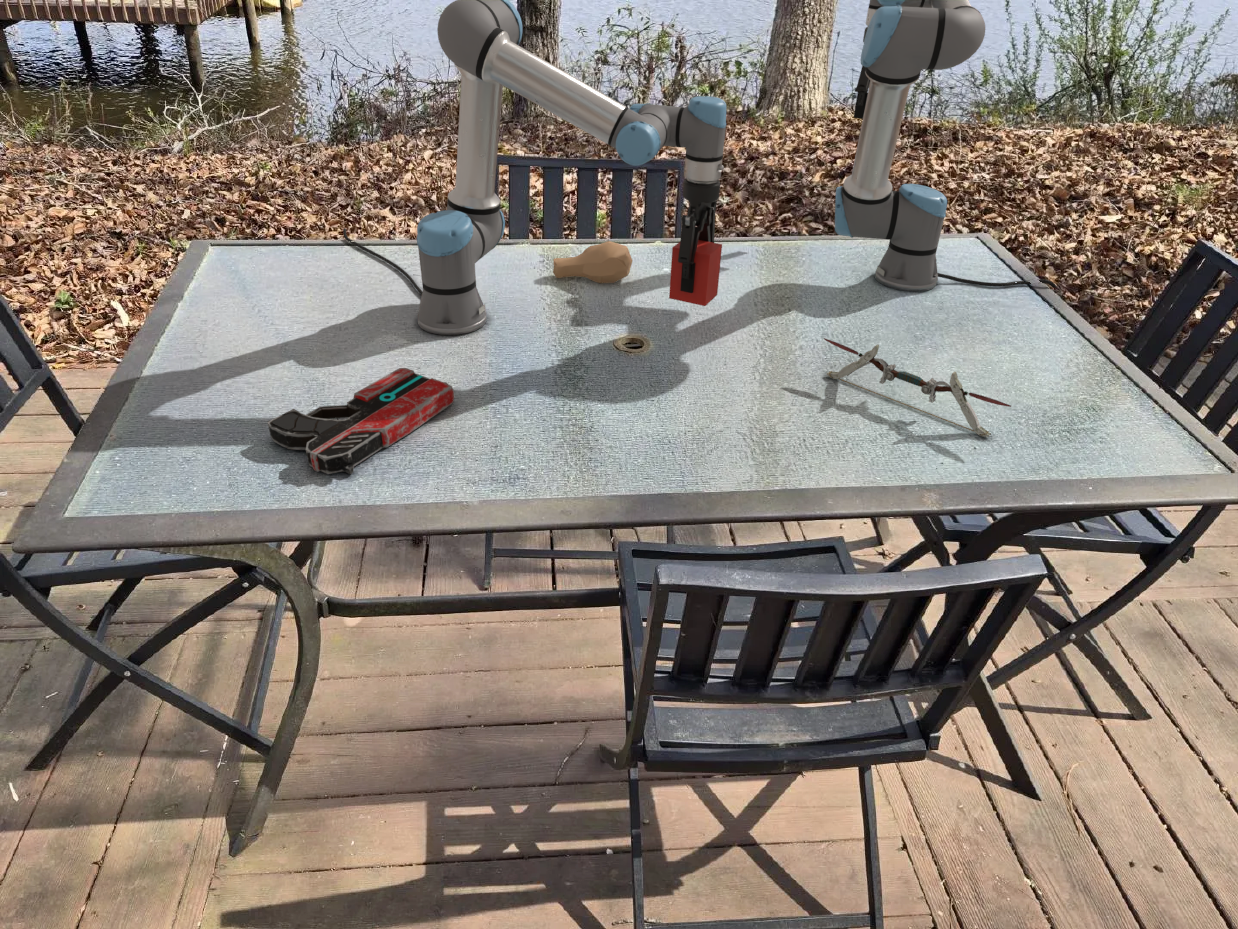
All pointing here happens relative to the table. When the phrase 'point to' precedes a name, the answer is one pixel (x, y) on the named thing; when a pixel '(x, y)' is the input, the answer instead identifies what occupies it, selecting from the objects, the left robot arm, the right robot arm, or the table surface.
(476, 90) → the left robot arm
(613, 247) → the squash
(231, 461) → the table surface
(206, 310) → the table surface
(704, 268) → the brick
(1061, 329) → the table surface
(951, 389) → the bow
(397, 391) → the gun
